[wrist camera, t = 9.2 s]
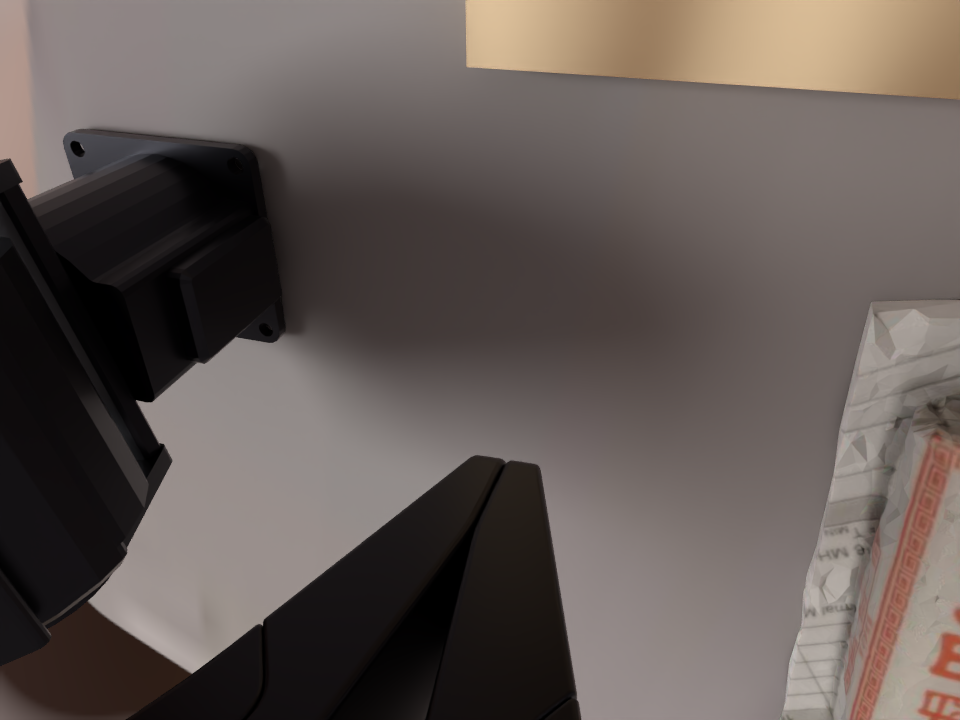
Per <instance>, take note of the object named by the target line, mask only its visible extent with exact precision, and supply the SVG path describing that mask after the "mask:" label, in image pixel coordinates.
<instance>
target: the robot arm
mask: <svg viewBox="0 0 960 720" xmlns="http://www.w3.org/2000/svg"><path fill="white" fill-rule="evenodd" d="M63 144H64V149H65V152H66V155H67V158H68V161H69V164H70V168H71V171H72V174H73V177H74V180H71V181H69V182H67V183H64V184H62V185H60V186H57V187H55V188H53V189H51V190H48V191H46V192H44V193H41V194H39V195H37V196H34V197H32V198H30V199H27V198H26V196H25V194H24V193H23V191H22V189H21V187H20V185H19V183H21V182H23V181H22V180H21V178H20V176H19V174H18V172H17V170H16V168H15V167H14V165H13V163H12V161H11V159H4V160H0V666H2V665H4V664H6V663H9V662H11V661H13V660H16V659H18V658H20V657H22V656H25V655H27V654H30V653H32V652H34V651H36V650H38V649H41V648H42V647H44V646H45V645H46V644H47V643H48V642H49V640H50V638H51V634H50V632H49V631H48V630H47V629H48V628H50V627H51V626H53V625H55V624H57V623H58V622H60V621H61V620H62V619H64V618H66V617H67V616H69V615H70V614H72V613H73V612H75V611H76V610H77V609H78V608H80V607H81V606H82V605H83V604H84V603H86V602H87V601H88V600H89V599H90V598H91V597H93V596H94V595H95V594H96V592H97V591H98V590H99V589H100V588H101V587H102V586H103V585H104V584H105V583H106V582H107V580H108V579H109V578H110V576H111V575H112V573H113V572H114V571H115V570H116V569H117V568H118V567H119V566H120V565H121V564H122V562H123V560H124V558H125V556H126V554H127V546H128V545H129V543H130V541H131V539H132V537H133V535H134V533H135V531H136V529H137V528H138V526H139V524H140V522H141V520H142V518H143V516H144V514H145V512H146V510H147V509H148V507H149V505H150V503H151V501H152V499H153V497H154V495H155V493H156V492H157V490H158V488H159V486H160V484H161V482H162V480H163V478H164V476H165V475H166V473H167V471H168V469H169V467H170V465H171V463H172V459H171V457H170V455H169V453H168V451H167V449H166V447H165V446H164V444H161V443H159V442H158V440H157V438H156V436H155V435H154V433H153V431H152V429H151V427H150V425H149V424H148V422H147V420H146V418H145V416H144V414H143V412H142V411H141V409H140V407H139V405H138V403H137V401H136V400H138V401H143V402H153V401H154V400H155V399H156V398H157V397H158V396H160V395H161V394H162V393H163V392H164V391H165V390H166V389H168V388H169V387H170V386H171V385H172V384H173V383H174V382H176V381H177V380H178V379H179V378H180V377H181V376H182V375H184V374H185V373H186V372H187V371H188V370H189V369H190V368H192V367H193V366H194V365H195V364H196V363H203V364H205V363H207V362H208V361H210V360H211V359H212V358H213V357H214V356H215V355H216V354H217V353H219V352H220V351H221V350H222V349H223V348H224V347H225V346H226V345H227V344H229V343H230V342H231V341H232V340H233V339H234V338H235V337H238V338H244V339H250V340H256V341H261V342H267V343H273V342H275V341H277V340H278V339H279V338H280V337H281V336H282V335H283V334H284V332H285V320H284V314H283V309H282V303H281V295H282V292H281V286H280V280H279V274H278V268H277V262H276V256H275V250H274V244H273V238H272V232H271V226H270V224H269V222H268V220H267V214H266V208H265V203H264V197H263V191H262V185H261V179H260V173H259V167H258V162H257V160H256V157H255V155H254V154H253V153H252V151H251V150H249V149H248V148H247V147H245V146H242V145H237V144H227V143H217V142H207V141H197V140H187V139H177V138H167V137H157V136H148V135H138V134H128V133H118V132H108V131H98V130H88V129H78V130H75V131H72V132H69V133H67V134H66V135H65V136H64V140H63ZM80 144H81V145H82V146H83V148H84V150H85V151H84V150H83V149H82V147H81V145H80ZM235 158H237V159H238V160H239V161H240V162H241V163H242V166H243V170H241V169H240V168H239V167H238V166H237V165H236V162H235ZM266 324H268V325H269V326H270V327H271V328H272V330H271V329H269V328H268V327H267V326H266ZM126 720H581V714H580V707H579V702H578V701H577V691H576V685H575V679H574V673H573V667H572V661H571V654H570V648H569V642H568V636H567V630H566V624H565V617H564V611H563V605H562V599H561V593H560V587H559V581H558V574H557V568H556V562H555V556H554V550H553V544H552V537H551V531H550V525H549V519H548V513H547V507H546V501H545V494H544V488H543V482H542V476H541V470H540V468H539V466H538V465H536V464H532V463H525V462H519V461H509V462H507V463H506V462H505V461H504V460H503V459H500V458H493V457H487V456H480V455H475V456H473V457H471V458H469V459H468V460H467V461H465V462H464V463H463V464H461V465H460V466H459V467H458V468H456V469H455V470H454V471H453V472H451V473H450V474H449V475H447V476H446V477H445V478H444V479H442V480H441V481H440V482H439V483H437V484H436V485H435V486H433V487H432V488H431V489H430V490H428V491H427V492H426V493H425V494H423V495H422V496H421V497H419V498H418V499H417V500H416V501H414V502H413V503H412V504H411V505H409V506H408V507H407V508H405V509H404V510H403V511H402V512H400V513H399V514H398V515H396V516H395V517H394V518H393V519H391V520H390V521H389V522H388V523H386V524H385V525H384V526H382V527H381V528H380V529H379V530H377V531H376V532H375V533H374V534H372V535H371V536H370V537H368V538H367V539H366V540H365V541H363V542H362V543H361V544H360V545H358V546H357V547H356V548H354V549H353V550H352V551H351V552H349V553H348V554H347V555H346V556H344V557H343V558H342V559H340V560H339V561H338V562H337V563H335V564H334V565H333V566H332V567H330V568H329V569H328V570H326V571H325V572H324V573H323V574H321V575H320V576H319V577H317V578H316V579H315V580H314V581H312V582H311V583H310V584H309V585H307V586H306V587H305V588H303V589H302V590H301V591H300V592H298V593H297V594H296V595H295V596H293V597H292V598H291V599H289V600H288V601H287V602H286V603H284V604H283V605H282V606H281V607H279V608H278V609H277V610H275V611H274V612H273V613H272V614H270V615H269V616H268V617H267V618H265V619H264V621H263V626H262V625H261V624H258V625H256V626H255V627H253V628H252V629H251V630H250V631H248V632H247V633H246V634H244V635H243V636H242V637H241V638H239V639H238V640H237V641H236V642H234V643H233V644H232V645H230V646H229V647H228V648H226V649H225V650H224V651H222V652H221V653H220V654H218V655H217V656H216V657H214V658H213V659H212V660H210V661H209V662H208V663H206V664H205V665H204V666H202V667H201V668H200V669H198V670H197V671H196V672H194V673H193V674H192V675H190V676H189V677H188V678H186V679H185V680H183V681H182V682H181V683H179V684H177V685H176V686H175V687H173V688H172V689H170V690H169V691H167V692H166V693H164V694H163V695H161V696H160V697H158V698H157V699H156V700H154V701H153V702H151V703H150V704H148V705H147V706H145V707H144V708H142V709H141V710H139V711H138V712H137V713H135V714H134V715H132V716H131V717H129V718H128V719H126Z"/></svg>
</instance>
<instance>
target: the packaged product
mask: <svg viewBox="0 0 960 720" xmlns="http://www.w3.org/2000/svg"><path fill="white" fill-rule="evenodd" d="M779 720H960V300H909V301H873V302H871V305H870V309H869V313H868V317H867V320H866V324H865V328H864V332H863V335H862V339H861V343H860V347H859V350H858V354H857V358H856V362H855V366H854V370H853V375H852V379H851V383H850V387H849V391H848V396H847V400H846V404H845V408H844V412H843V417H842V421H841V425H840V429H839V437H838V445H837V453H836V461H835V469H834V474H833V478H832V482H831V486H830V490H829V495H828V499H827V503H826V507H825V511H824V515H823V519H822V523H821V528H820V533H819V538H818V543H817V546H816V549H815V552H814V555H813V558H812V561H811V564H810V567H809V570H808V573H807V578H806V588H805V589H804V593H803V609H802V625H801V627H800V630H799V633H798V636H797V639H796V642H795V646H794V649H793V652H792V655H791V659H790V662H789V670H788V678H787V687H786V695H785V705H784V709H783V711H782V714H781V716H780V719H779Z"/></svg>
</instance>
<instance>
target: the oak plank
mask: <svg viewBox="0 0 960 720" xmlns="http://www.w3.org/2000/svg"><path fill="white" fill-rule="evenodd" d="M466 52H467V67H475V68H490V69H505V70H520V71H536V72H551V73H566V74H581V75H596V76H612V77H627V78H642V79H657V80H672V81H687V82H703V83H718V84H733V85H748V86H763V87H779V88H794V89H809V90H824V91H839V92H855V93H870V94H885V95H900V96H915V97H931V98H946V99H960V0H466Z"/></svg>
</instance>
